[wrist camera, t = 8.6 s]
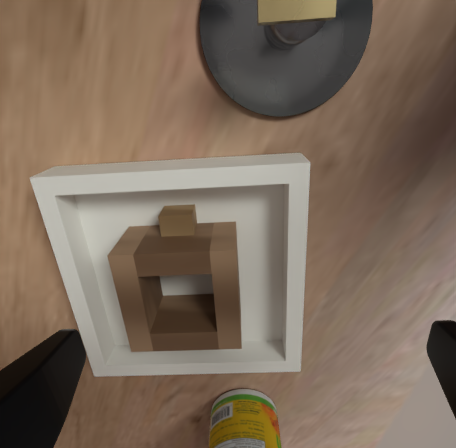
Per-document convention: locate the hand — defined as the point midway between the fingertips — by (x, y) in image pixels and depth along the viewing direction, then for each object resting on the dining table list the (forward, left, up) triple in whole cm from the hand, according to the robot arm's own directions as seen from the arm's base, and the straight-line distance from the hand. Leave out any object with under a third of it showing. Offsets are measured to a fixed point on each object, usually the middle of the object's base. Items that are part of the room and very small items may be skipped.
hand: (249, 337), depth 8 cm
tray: (+4, +5, -11) cm, 13 cm away
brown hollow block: (+4, +5, -11) cm, 12 cm away
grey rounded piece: (-2, -8, -11) cm, 14 cm away
